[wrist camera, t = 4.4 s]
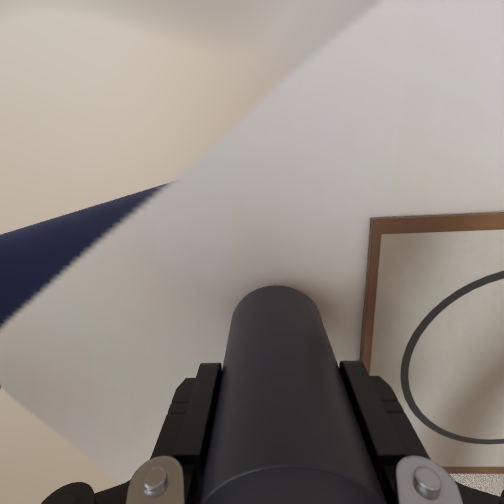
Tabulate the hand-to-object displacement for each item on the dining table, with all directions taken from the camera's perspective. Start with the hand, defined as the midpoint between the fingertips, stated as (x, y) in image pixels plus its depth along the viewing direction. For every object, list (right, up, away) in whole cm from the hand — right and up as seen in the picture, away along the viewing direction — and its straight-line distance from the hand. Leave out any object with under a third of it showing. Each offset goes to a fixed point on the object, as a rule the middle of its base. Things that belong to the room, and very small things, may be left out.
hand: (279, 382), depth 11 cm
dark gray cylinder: (0, +2, +5) cm, 5 cm away
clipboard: (+12, -1, +5) cm, 13 cm away
